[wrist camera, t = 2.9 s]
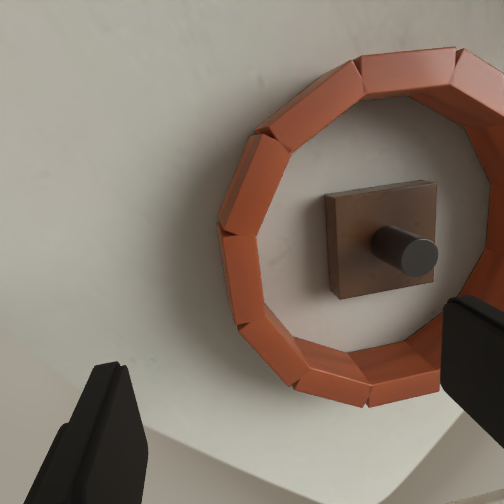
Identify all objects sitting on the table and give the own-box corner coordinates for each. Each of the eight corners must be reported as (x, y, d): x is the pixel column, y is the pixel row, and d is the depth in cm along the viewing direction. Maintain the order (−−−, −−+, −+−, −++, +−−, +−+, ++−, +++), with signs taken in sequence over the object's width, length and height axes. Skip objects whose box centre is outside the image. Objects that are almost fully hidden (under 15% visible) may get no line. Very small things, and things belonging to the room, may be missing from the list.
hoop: (242, 395, 23) (251, 436, 20) (195, 85, 18) (197, 71, 14) (497, 340, 25) (541, 368, 22) (526, 51, 20) (591, 32, 17)
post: (329, 290, 22) (363, 324, 18) (324, 194, 20) (360, 206, 16) (418, 273, 23) (471, 302, 19) (420, 179, 21) (479, 187, 17)
